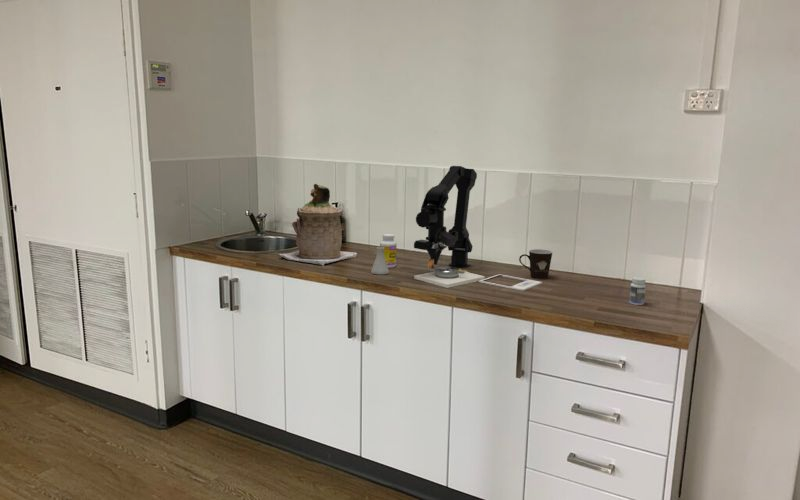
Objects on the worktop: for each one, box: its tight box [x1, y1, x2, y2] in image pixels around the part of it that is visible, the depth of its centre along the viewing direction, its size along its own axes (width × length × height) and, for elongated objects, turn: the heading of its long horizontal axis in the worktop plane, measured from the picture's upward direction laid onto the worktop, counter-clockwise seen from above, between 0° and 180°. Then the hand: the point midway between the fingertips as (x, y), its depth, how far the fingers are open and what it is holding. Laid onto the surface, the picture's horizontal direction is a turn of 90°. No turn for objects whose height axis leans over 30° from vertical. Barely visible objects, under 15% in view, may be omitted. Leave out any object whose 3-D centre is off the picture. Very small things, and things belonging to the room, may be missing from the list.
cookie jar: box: [278, 183, 358, 267], centre depth 260 cm, size 25×25×32 cm
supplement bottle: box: [379, 233, 398, 269], centre depth 248 cm, size 7×7×13 cm
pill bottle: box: [628, 276, 647, 306], centre depth 201 cm, size 5×5×8 cm
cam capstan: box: [427, 257, 469, 278], centre depth 229 cm, size 16×9×6 cm, turn 66°
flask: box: [370, 246, 390, 275], centre depth 237 cm, size 7×7×10 cm
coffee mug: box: [518, 248, 554, 280], centre depth 235 cm, size 12×9×10 cm
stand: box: [413, 271, 486, 289], centre depth 229 cm, size 20×17×2 cm
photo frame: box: [478, 273, 543, 292], centre depth 226 cm, size 15×1×18 cm
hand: (435, 264), depth 234 cm, fingers closed
